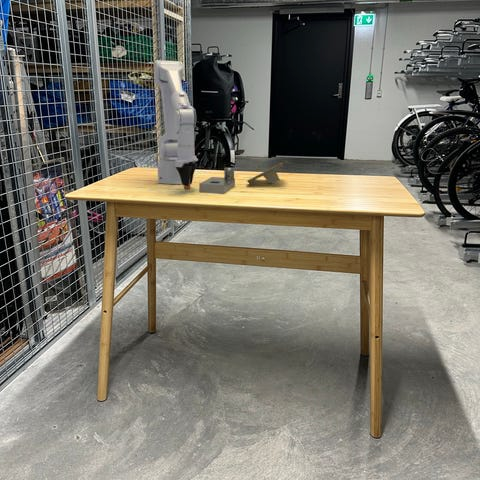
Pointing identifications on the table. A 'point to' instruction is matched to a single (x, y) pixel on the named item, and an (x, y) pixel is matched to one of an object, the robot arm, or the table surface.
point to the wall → (268, 175)
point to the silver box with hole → (219, 183)
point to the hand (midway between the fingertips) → (187, 184)
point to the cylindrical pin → (187, 186)
